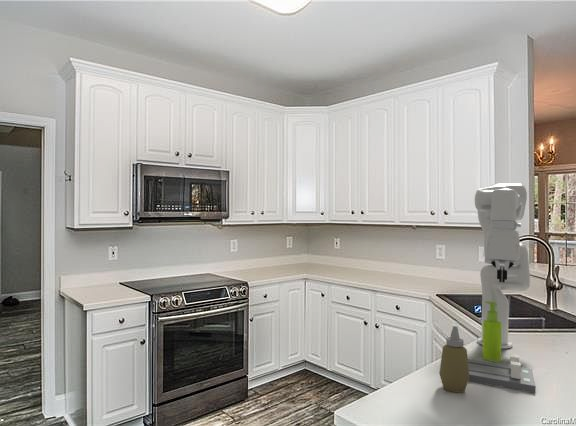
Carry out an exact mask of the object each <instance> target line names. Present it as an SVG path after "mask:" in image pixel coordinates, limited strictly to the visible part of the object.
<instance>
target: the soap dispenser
mask: <svg viewBox="0 0 576 426" xmlns="http://www.w3.org/2000/svg"><path fill="white" fill-rule="evenodd" d="M485 303H488V304H490V311H487V320H484V321H483V345H482V358H483V360H487V361H488V362H500V361H502V349H501V322H499V321H498V313H497V312H496V311H495V305H496V306H497V303H495V302H491V301H485Z"/></svg>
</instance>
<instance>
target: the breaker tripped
mask: <svg viewBox="0 0 576 426" xmlns="http://www.w3.org/2000/svg"><path fill="white" fill-rule="evenodd" d="M521 365H522V363H521V362H520V361H519V362H513V361H511V378H516V379H521V367H522V366H521Z"/></svg>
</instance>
